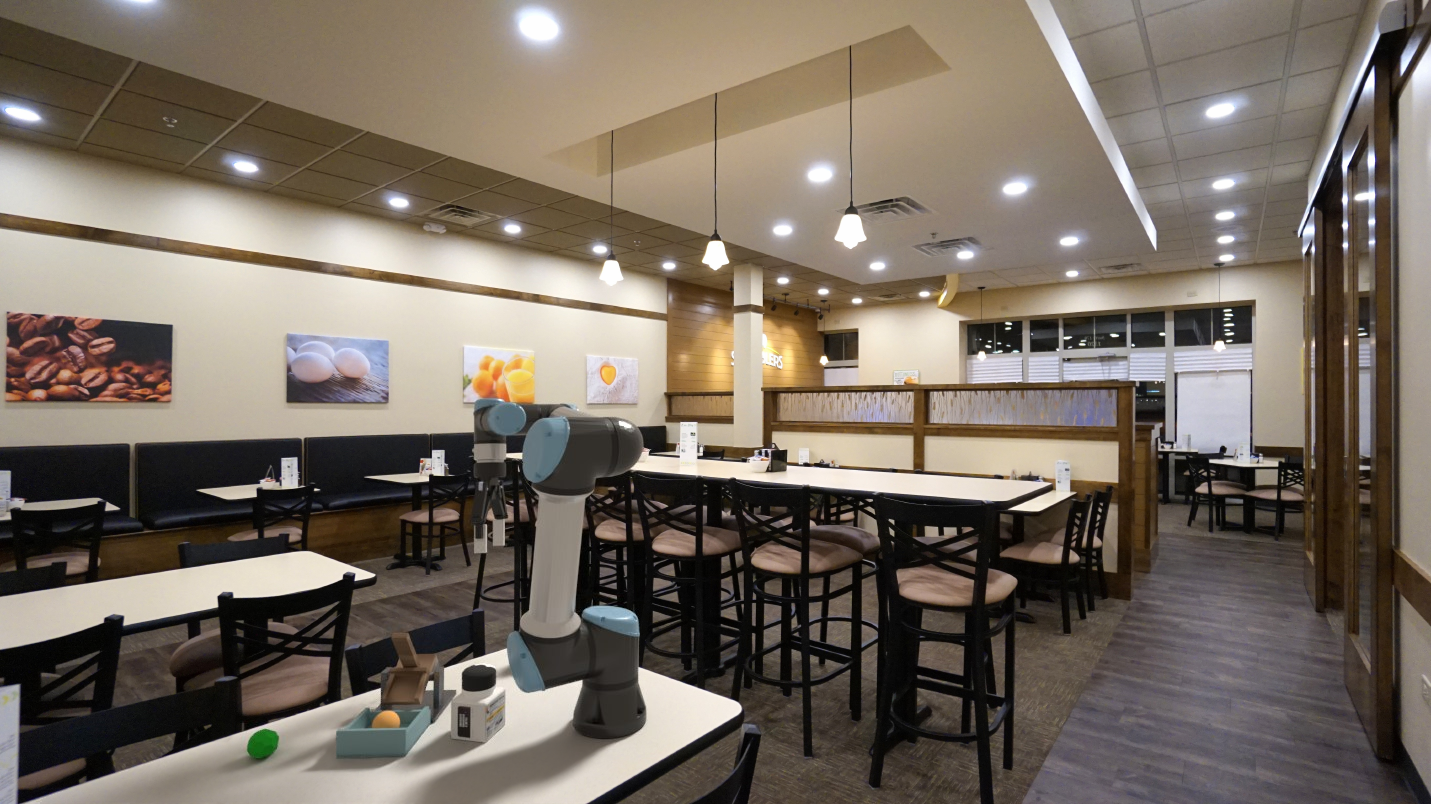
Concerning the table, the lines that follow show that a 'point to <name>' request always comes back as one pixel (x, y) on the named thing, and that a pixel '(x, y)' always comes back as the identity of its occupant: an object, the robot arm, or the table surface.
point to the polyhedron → (262, 743)
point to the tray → (381, 735)
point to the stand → (431, 698)
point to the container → (478, 705)
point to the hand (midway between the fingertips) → (490, 549)
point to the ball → (386, 720)
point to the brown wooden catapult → (409, 673)
